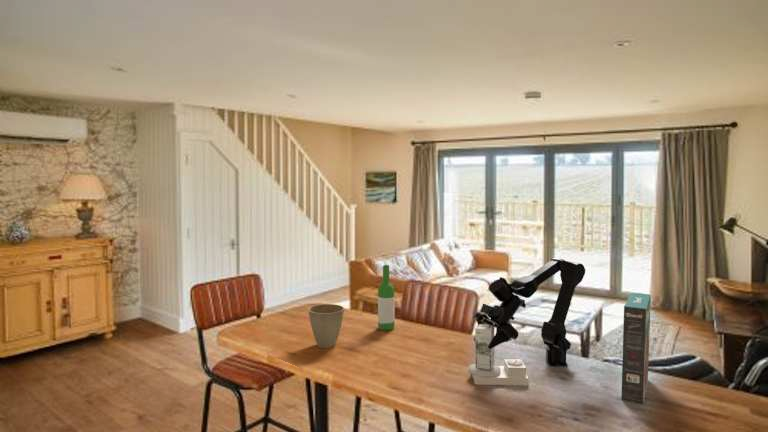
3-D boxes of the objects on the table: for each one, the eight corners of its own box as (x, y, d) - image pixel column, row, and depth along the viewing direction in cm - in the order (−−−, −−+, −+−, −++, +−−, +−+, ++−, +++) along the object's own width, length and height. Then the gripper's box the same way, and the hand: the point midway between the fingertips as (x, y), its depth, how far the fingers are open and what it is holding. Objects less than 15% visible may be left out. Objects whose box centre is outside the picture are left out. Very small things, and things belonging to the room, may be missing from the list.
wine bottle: (394, 331, 227) (394, 267, 225) (377, 331, 227) (377, 267, 225) (394, 326, 234) (394, 264, 232) (378, 326, 235) (377, 264, 233)
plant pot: (302, 348, 203) (301, 311, 202) (319, 338, 217) (319, 302, 216) (334, 353, 197) (333, 314, 196) (350, 342, 211) (349, 305, 210)
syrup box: (494, 365, 173) (494, 324, 172) (491, 371, 168) (491, 329, 167) (478, 363, 175) (478, 323, 174) (474, 368, 170) (474, 327, 169)
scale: (521, 372, 176) (521, 356, 176) (528, 385, 165) (528, 368, 165) (466, 371, 177) (466, 355, 177) (470, 384, 167) (470, 367, 166)
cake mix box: (642, 404, 151) (646, 308, 149) (621, 399, 154) (624, 306, 152) (648, 379, 170) (650, 294, 168) (628, 376, 173) (631, 292, 171)
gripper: (478, 290, 180) (453, 323, 176) (511, 301, 163) (484, 338, 159) (495, 308, 184) (471, 341, 180) (530, 321, 167) (503, 358, 163)
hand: (481, 344), depth 170 cm, fingers closed on syrup box, 8 cm apart
